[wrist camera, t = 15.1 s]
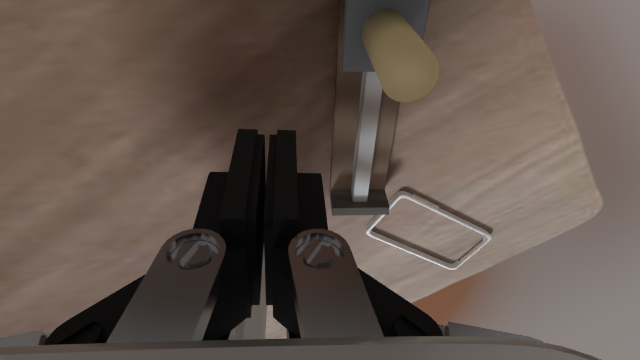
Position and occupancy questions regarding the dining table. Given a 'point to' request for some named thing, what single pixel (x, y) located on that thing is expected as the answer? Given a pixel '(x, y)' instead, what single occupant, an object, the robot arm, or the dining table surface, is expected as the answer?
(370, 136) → the rail base
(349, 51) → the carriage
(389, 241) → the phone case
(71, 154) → the dining table surface
